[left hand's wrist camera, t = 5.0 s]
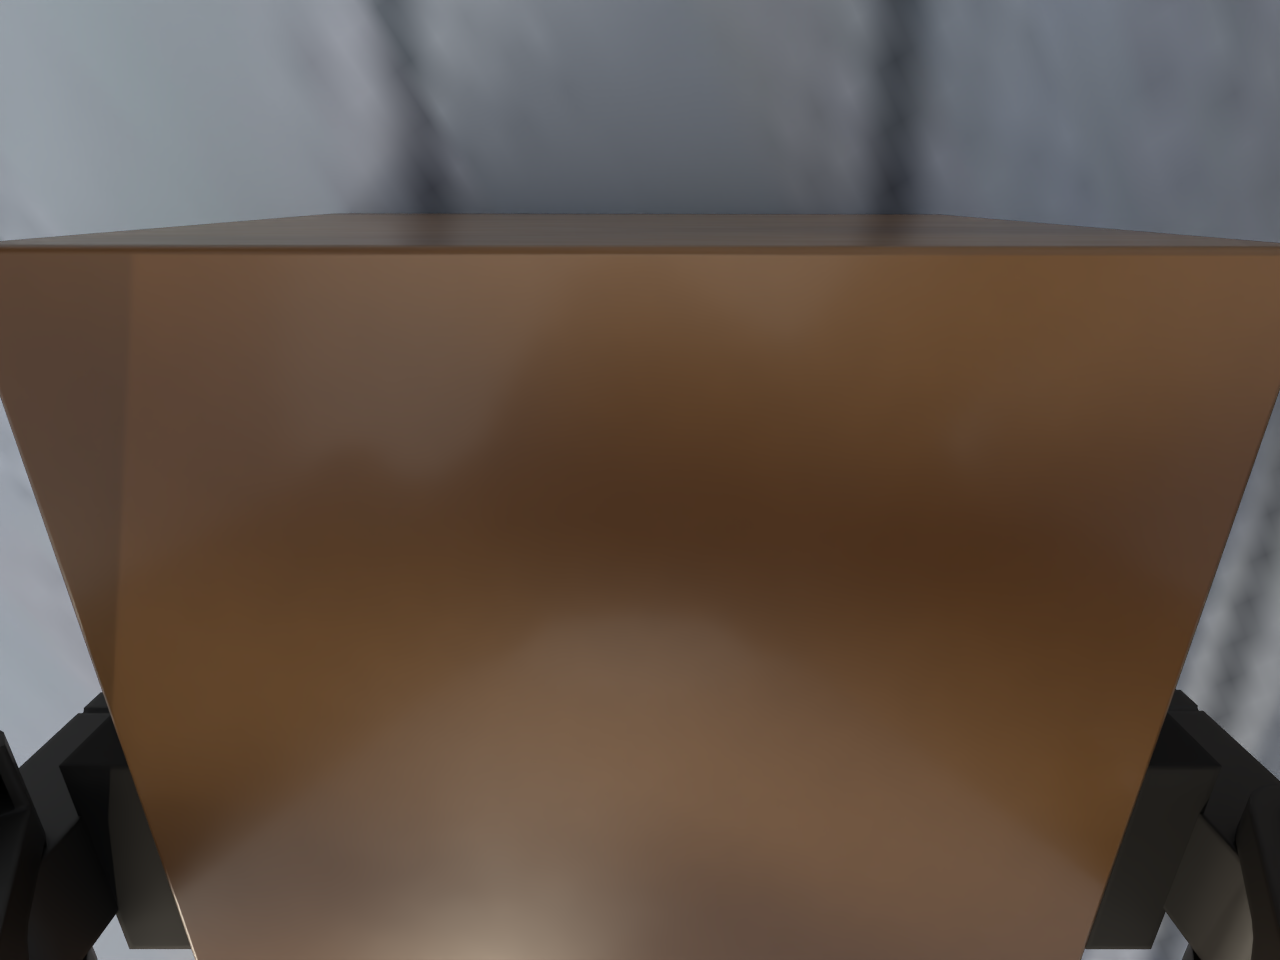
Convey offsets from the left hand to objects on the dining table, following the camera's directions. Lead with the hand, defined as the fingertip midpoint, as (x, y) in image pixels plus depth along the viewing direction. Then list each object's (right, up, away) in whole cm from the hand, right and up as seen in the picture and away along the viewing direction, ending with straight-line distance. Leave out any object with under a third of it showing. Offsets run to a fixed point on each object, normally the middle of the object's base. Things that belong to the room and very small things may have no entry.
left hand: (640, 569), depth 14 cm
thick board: (0, -28, +12) cm, 31 cm away
